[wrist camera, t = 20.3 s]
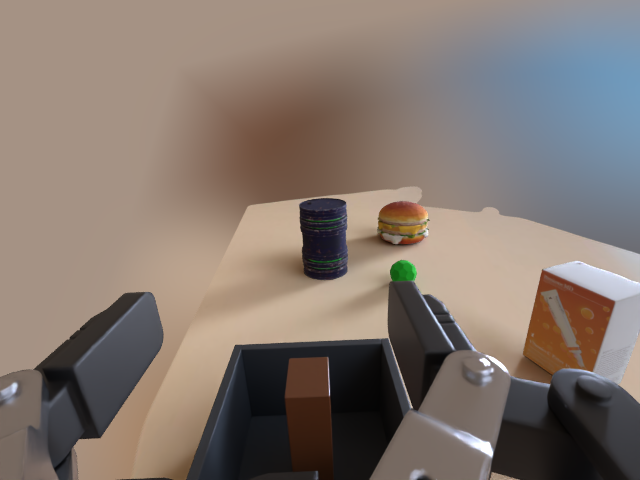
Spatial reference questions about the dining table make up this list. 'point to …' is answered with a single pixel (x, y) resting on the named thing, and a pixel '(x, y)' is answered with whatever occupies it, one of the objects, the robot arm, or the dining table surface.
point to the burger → (403, 223)
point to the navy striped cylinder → (324, 238)
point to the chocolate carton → (309, 416)
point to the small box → (584, 320)
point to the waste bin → (270, 412)
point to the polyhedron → (403, 271)
